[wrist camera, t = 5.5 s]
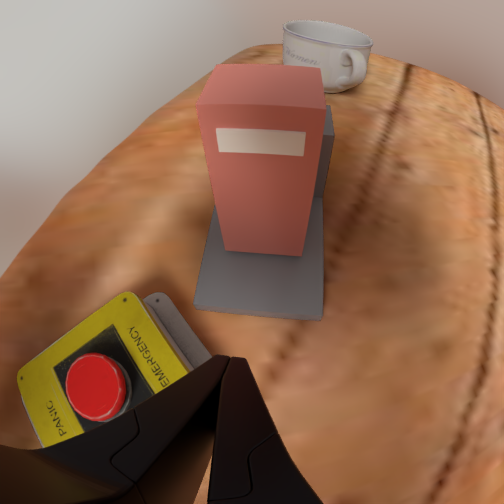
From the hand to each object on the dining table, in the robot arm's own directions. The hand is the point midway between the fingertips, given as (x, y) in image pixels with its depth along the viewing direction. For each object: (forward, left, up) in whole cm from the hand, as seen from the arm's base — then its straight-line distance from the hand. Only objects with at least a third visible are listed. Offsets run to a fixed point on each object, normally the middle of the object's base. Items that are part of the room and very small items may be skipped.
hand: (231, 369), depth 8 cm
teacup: (+18, -30, -10) cm, 36 cm away
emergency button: (+5, +7, -11) cm, 14 cm away
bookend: (+8, -9, -10) cm, 15 cm away
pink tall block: (+7, -8, -9) cm, 14 cm away
